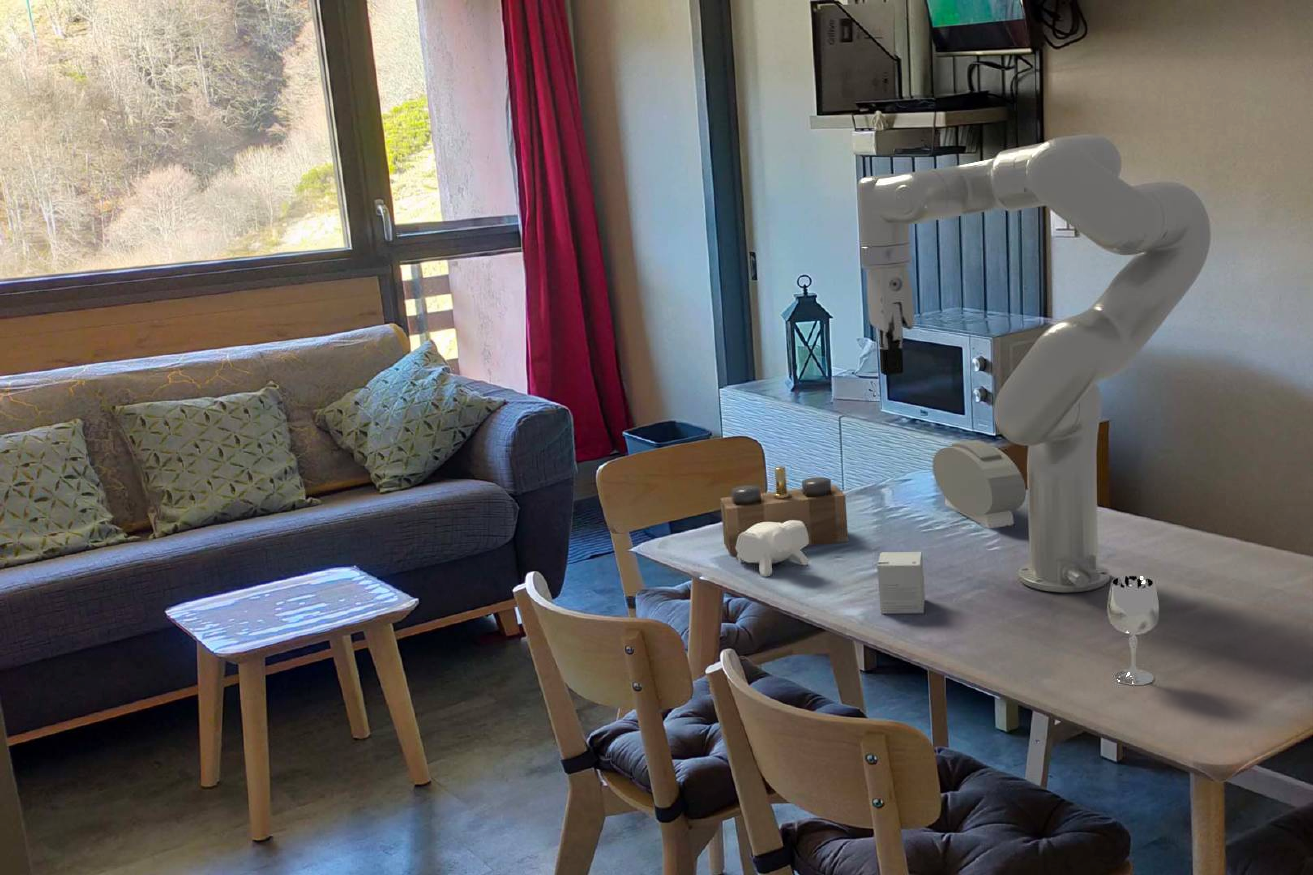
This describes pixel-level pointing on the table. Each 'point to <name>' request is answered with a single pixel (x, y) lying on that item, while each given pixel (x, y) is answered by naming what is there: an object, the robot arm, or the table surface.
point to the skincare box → (901, 582)
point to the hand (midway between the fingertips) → (892, 373)
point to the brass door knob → (781, 484)
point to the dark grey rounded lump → (746, 495)
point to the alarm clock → (979, 482)
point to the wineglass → (1133, 618)
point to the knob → (816, 487)
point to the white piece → (772, 544)
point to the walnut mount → (789, 516)
